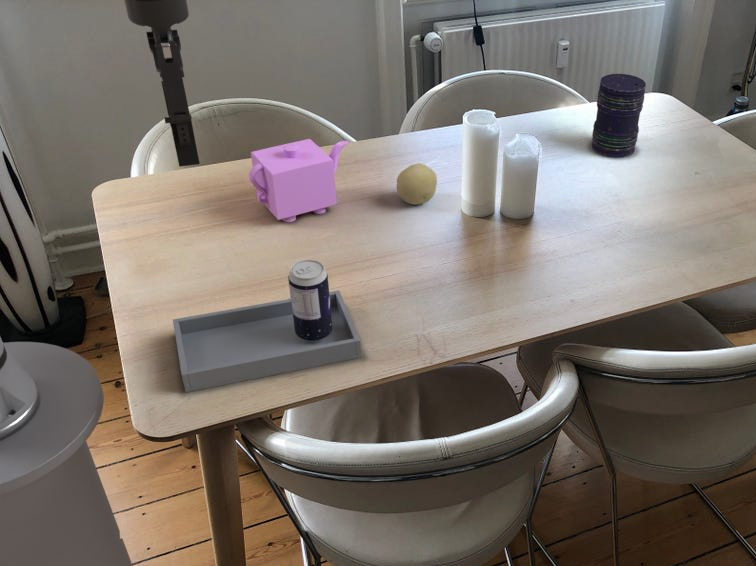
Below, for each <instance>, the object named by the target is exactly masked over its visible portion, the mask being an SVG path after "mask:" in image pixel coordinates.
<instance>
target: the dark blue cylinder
mask: <svg viewBox="0 0 756 566" xmlns="http://www.w3.org/2000/svg"><path fill="white" fill-rule="evenodd" d="M646 87H647V83H646V81H645V80H644V79H642V78H640V77H638V76H635V75H632V74H627V73H610V74H606V75H604V76H602V77H601V78H600V79H599V87H598V88H599V89H598V91H597V100H596V107H597V110H596V117H595V120H594V123H593V129H592V135H591V136H592V137H591V138H592V142H591V146H590V147H591V149H592V151H593V152H595V153H596V154H597V155H600V156H602V157H607V158H612V159H623V158H628V157H630V156H632V155H633V154H635V150H636V144H637V141H638V138H639V132H640V127H639V121H640V116H641V113H642V111H643V108H644V105H643V104H644V102H645V93H646Z"/></svg>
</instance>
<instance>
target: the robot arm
mask: <svg viewBox="0 0 756 566" xmlns="http://www.w3.org/2000/svg"><path fill="white" fill-rule="evenodd" d="M123 1H124V5H125V10H126V14H127V18H128V20H129V21H130V22H131V23H132V24H133V25H137V26H140V27H148V28H150V29H151V31H146V32H145V33H146V39H147V43H148V47H149V52H151V54H152V56H153V61H154V66H155V70H156V72H157V73H159V77H160V78H161V81H160V83H161V87H162V91H163V97H164V101H165V107H166V110H167V116H166V117H163V118H164V123H165V124H169V125H170V128H171V133H172V138H173V143H174V149H175V153H176V158H177V162H178V166H179V167H181V168H182V167H187V166H196V165H200V158H199V152H198V147H197V143H196V137H195V131H194V127H193V122H192V114H191V113H190V108H189V104H188V99H187V93H186V89H185V88H186V87H185V84H184V79H183V78H185V73H184V64H183V58H182V54H181V50H182V43H181V39H180V35H179V32H178V29H172V28H171V27H173V26H174V25H179V24H182V23H183V22H185V21H186V20H188V18H189V14H190V12H189V7H188V0H123ZM3 343H4V342H3V340H2V338H1V336H0V441H1V440H3V439H5V438H7V437H9V436H11V435H13V434H14V433H16V432H17V431H19V430H20V429H21V428H23V427H24V426H25V425H26V424H27V423H28V422H29V421H30V420H31V419H32V418H33V416H34V415H35V413H36V412H37V410H38V408H39V404H40V394H39V391H38V388H37V386H36V384H35V381H34V380H33V379H32V377H31V376H30V375H29V374H28V373H27V372H26V371H25V370H24V369H23V368H22V367H21V366H20V365H19V364H18V363H17V362H16V361H15V360H14V359H13V358H12V357H11V356H10V355H8V353H7V352H6V349H5V347H4V344H3Z"/></svg>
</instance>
